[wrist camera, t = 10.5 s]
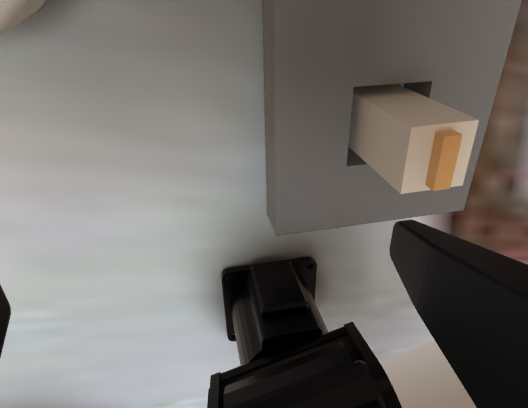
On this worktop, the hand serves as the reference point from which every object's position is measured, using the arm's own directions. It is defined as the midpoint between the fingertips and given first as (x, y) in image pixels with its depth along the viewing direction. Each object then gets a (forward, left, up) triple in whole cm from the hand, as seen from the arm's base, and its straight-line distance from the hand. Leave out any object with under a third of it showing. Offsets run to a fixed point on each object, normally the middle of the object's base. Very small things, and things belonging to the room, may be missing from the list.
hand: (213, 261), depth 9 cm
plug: (-1, -10, -13) cm, 16 cm away
